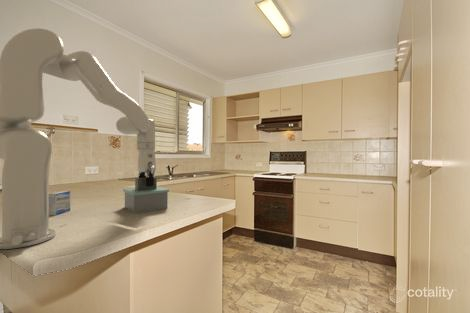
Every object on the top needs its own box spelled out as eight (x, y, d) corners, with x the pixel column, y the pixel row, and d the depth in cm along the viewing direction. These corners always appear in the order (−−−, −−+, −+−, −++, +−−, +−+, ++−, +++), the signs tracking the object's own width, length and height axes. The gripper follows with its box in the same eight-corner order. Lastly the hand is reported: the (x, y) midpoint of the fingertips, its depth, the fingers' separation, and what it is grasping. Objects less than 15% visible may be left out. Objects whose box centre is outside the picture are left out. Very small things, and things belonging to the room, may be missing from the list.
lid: (169, 194, 97) (169, 178, 97) (133, 198, 87) (133, 180, 87) (156, 189, 108) (156, 175, 108) (123, 193, 98) (123, 177, 98)
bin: (167, 209, 97) (167, 191, 97) (134, 215, 88) (134, 195, 88) (155, 204, 108) (155, 188, 108) (124, 208, 98) (124, 191, 98)
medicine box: (55, 215, 87) (55, 193, 87) (44, 215, 87) (44, 193, 87) (70, 210, 95) (70, 190, 95) (60, 210, 95) (60, 190, 95)
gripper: (162, 146, 94) (161, 186, 94) (147, 147, 107) (147, 182, 107) (144, 146, 89) (143, 188, 89) (131, 147, 102) (131, 183, 102)
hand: (146, 185), depth 98 cm, fingers open, 9 cm apart
